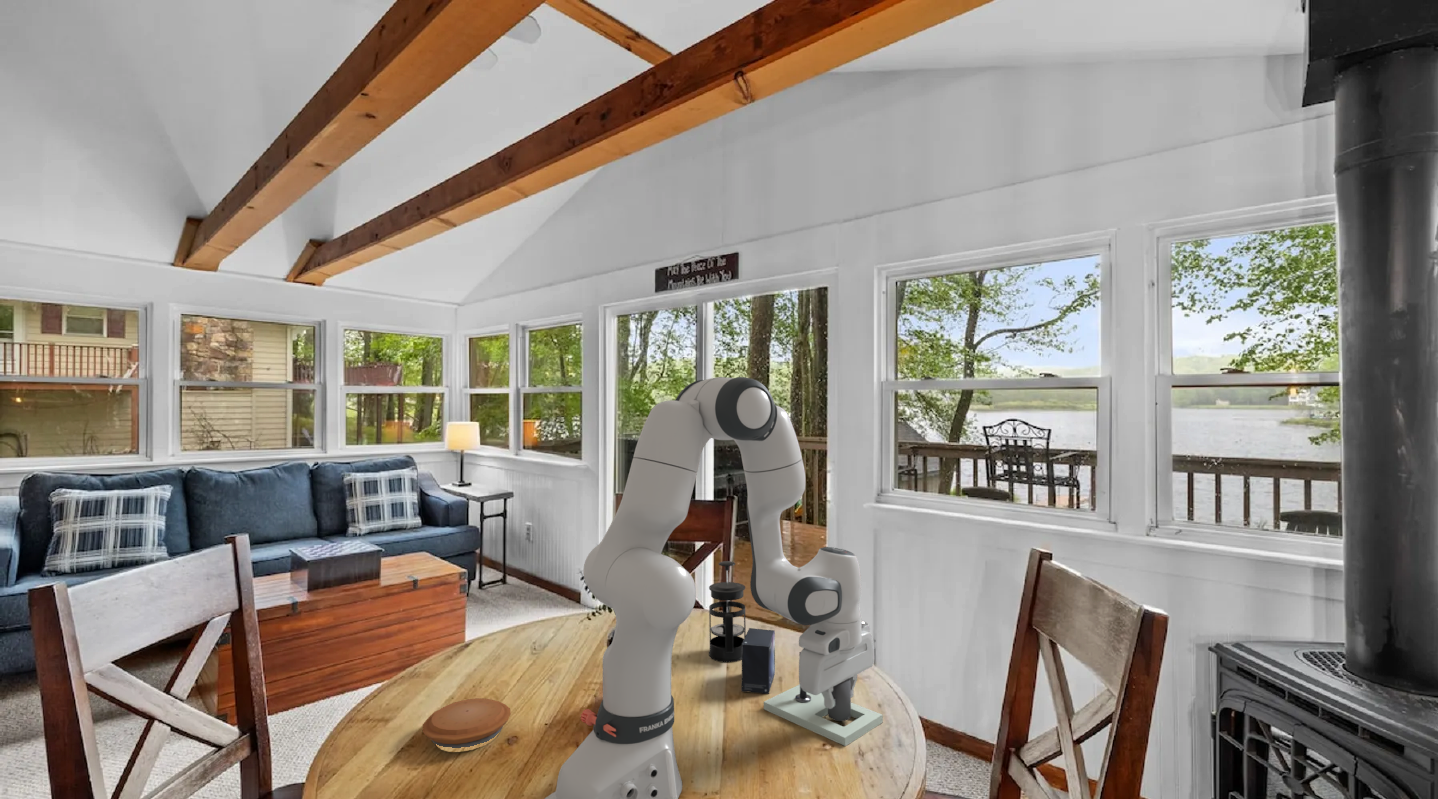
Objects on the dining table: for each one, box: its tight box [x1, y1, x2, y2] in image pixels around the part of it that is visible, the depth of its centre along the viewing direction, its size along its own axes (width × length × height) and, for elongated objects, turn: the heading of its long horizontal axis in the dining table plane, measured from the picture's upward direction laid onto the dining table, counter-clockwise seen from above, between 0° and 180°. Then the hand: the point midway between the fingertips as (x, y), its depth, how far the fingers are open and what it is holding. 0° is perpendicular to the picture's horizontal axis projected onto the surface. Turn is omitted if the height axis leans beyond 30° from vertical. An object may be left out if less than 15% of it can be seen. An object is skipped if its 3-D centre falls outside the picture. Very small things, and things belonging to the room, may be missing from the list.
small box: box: [740, 627, 776, 695], centre depth 144 cm, size 11×6×10 cm, turn 168°
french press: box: [708, 560, 747, 663], centre depth 160 cm, size 12×9×23 cm
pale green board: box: [763, 683, 884, 747], centre depth 129 cm, size 12×20×2 cm, turn 44°
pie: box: [421, 697, 512, 748], centre depth 122 cm, size 15×16×5 cm
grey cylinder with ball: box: [827, 678, 852, 722], centre depth 126 cm, size 4×4×8 cm
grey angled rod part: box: [795, 651, 811, 703], centre depth 134 cm, size 7×3×10 cm, turn 134°
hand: (839, 702), depth 126 cm, fingers closed on grey cylinder with ball, 4 cm apart
